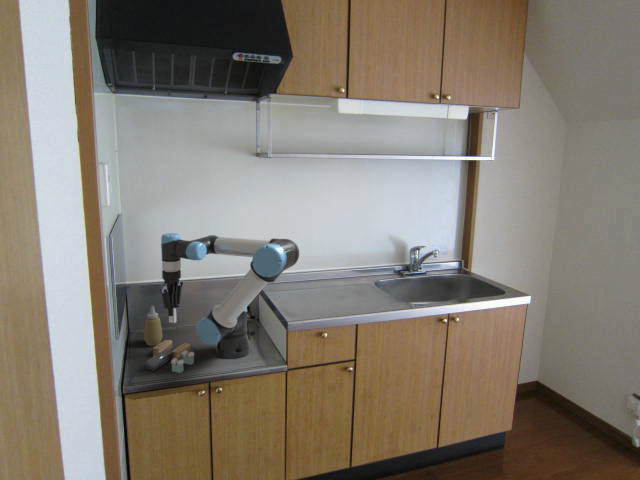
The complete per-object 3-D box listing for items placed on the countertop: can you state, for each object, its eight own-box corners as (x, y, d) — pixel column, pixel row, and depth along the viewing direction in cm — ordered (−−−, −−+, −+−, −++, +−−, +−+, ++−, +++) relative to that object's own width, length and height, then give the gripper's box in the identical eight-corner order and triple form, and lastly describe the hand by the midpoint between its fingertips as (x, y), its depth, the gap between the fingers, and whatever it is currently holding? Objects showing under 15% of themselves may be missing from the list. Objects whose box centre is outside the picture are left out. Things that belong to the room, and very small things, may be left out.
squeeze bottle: (156, 348, 199) (155, 310, 196) (140, 346, 201) (139, 308, 197) (166, 341, 207) (165, 304, 204) (150, 339, 209) (149, 302, 205)
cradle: (184, 361, 189) (184, 350, 188) (194, 363, 188) (194, 351, 187) (171, 371, 180) (170, 359, 179) (181, 373, 179) (181, 361, 178)
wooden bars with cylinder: (190, 351, 198) (190, 344, 197) (177, 360, 189) (177, 352, 189) (166, 346, 202) (166, 339, 201) (153, 355, 193) (152, 348, 192)
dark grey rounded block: (160, 353, 190) (166, 346, 189) (168, 362, 190) (174, 354, 188) (143, 365, 180) (149, 357, 178) (151, 374, 180) (157, 366, 178)
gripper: (173, 265, 196) (174, 315, 201) (153, 272, 184) (155, 326, 189) (188, 267, 194) (188, 318, 198) (169, 274, 182) (170, 328, 186)
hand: (172, 322), depth 194 cm, fingers closed
